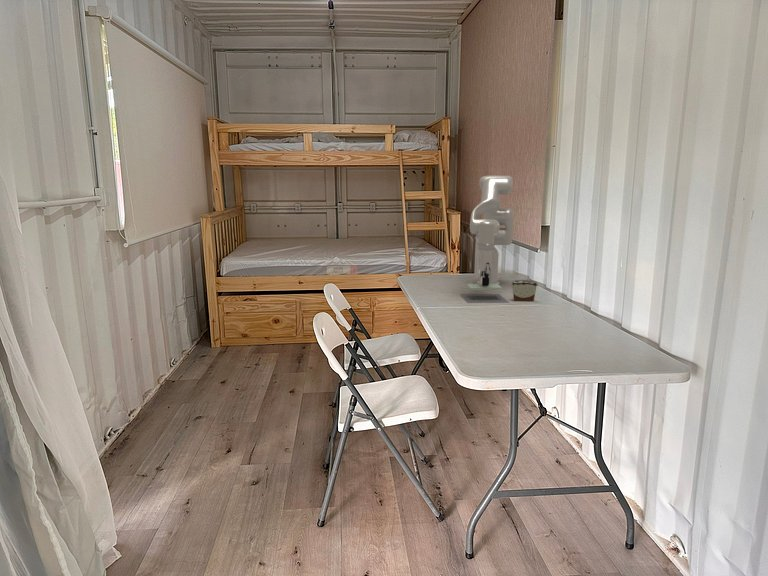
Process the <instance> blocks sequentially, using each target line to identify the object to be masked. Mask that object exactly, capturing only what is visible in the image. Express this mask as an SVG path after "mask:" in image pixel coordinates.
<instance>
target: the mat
mask: <svg viewBox="0 0 768 576" xmlns="http://www.w3.org/2000/svg"><path fill="white" fill-rule="evenodd" d="M459 295H460V297H461V298H462V299H463V300H464V301H465V302H466V303H467V304H511V303H510V302H509V300H507V299H506V298H505V297H503V296H502V295H501V294H500V293H459Z"/></svg>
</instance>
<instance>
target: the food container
mask: <svg viewBox="0 0 768 576" xmlns="http://www.w3.org/2000/svg"><path fill="white" fill-rule="evenodd" d="M510 286H512V296H513V297H512V300H513V302H535V298H536V291H537V287H539V285H538V281H536V280H529V279H515V280H512V282H511V284H510Z"/></svg>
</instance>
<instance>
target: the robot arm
mask: <svg viewBox="0 0 768 576" xmlns="http://www.w3.org/2000/svg"><path fill="white" fill-rule="evenodd" d="M513 179H514V178H513V177H512V176H511V175H484V176H481V177H480V178H479V180H478V181H479V188H480V191H481V198H480V199H481V200H480V201H481V202H480V203H478V204H477V205H476V206H475V207H474V209H473V210H472V212H471V214H470V220H469V231H470V233H471V234H472V235H478V237H477V251H478V255H477V269H478V270H479V271H480V275H479V278H480V277H481V276H483V277H482V285H483V286H489V284H498V285H500V284H501V282H500V281H498V279H499V278H498V276H499V275H498V274H499V251H498V248H496V246H509V245H512V243H513V236H514V211H513V209H512V208H510V207H501V198H500V195H511V192H512V191H513V186H514V181H513ZM481 215H483V218H479V217H480V216H481ZM501 226H504V227H501ZM476 284H480V279H479V280H477V283H476ZM500 286H501V285H500Z"/></svg>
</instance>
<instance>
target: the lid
mask: <svg viewBox="0 0 768 576" xmlns="http://www.w3.org/2000/svg"><path fill="white" fill-rule="evenodd" d="M482 277H483V276H481V277H480V276H479V280H480V284H477V283H467V284H466V286H467V287H468V289H469V290H471V291H483V290H484V291H485V290H486V291H487V290H488V291H489V290H492V291H493V290H494V291H495V290H500V291H501V290H503V287H502V286H501V285H498V284H489V286H483V285H482Z"/></svg>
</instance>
